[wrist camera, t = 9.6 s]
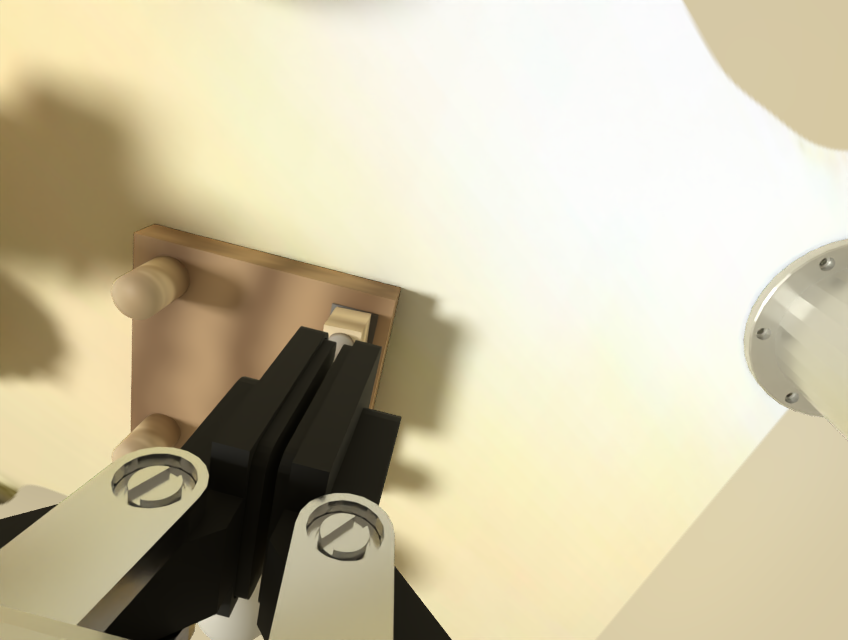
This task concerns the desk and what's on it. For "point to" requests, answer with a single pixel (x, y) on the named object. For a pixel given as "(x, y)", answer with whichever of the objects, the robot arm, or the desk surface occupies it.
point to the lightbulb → (235, 621)
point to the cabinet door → (347, 327)
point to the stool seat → (221, 324)
